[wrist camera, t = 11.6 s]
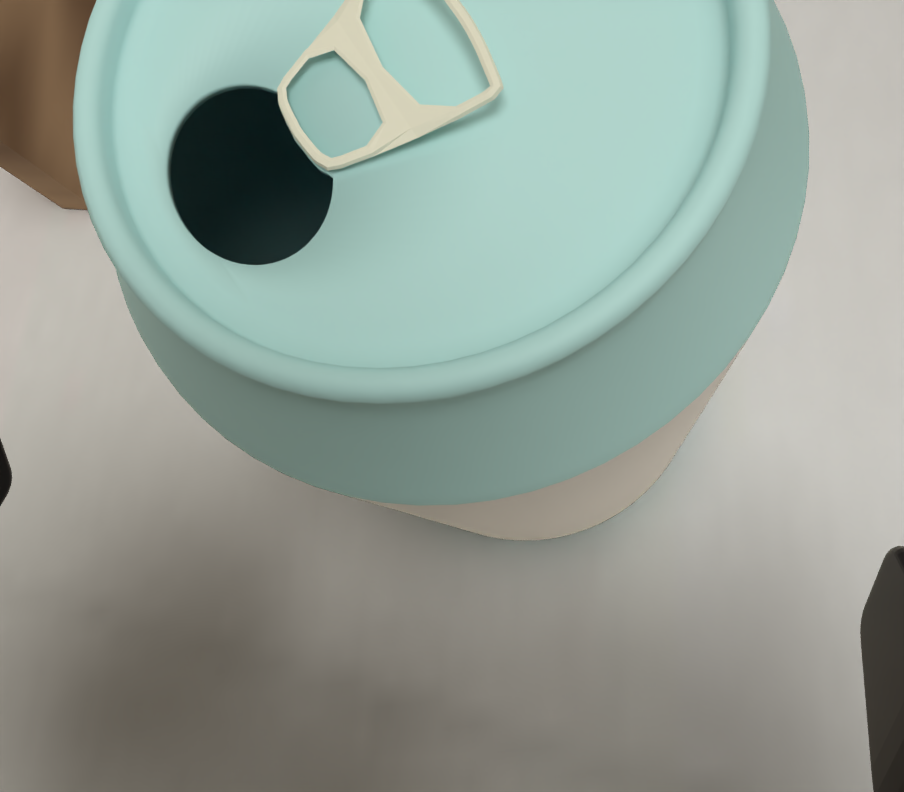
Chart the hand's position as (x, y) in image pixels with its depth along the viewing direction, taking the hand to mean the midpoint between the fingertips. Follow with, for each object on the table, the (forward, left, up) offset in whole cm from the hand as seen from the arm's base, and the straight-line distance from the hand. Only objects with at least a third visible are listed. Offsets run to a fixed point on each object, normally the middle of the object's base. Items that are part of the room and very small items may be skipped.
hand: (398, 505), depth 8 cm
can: (+3, +2, -10) cm, 10 cm away
